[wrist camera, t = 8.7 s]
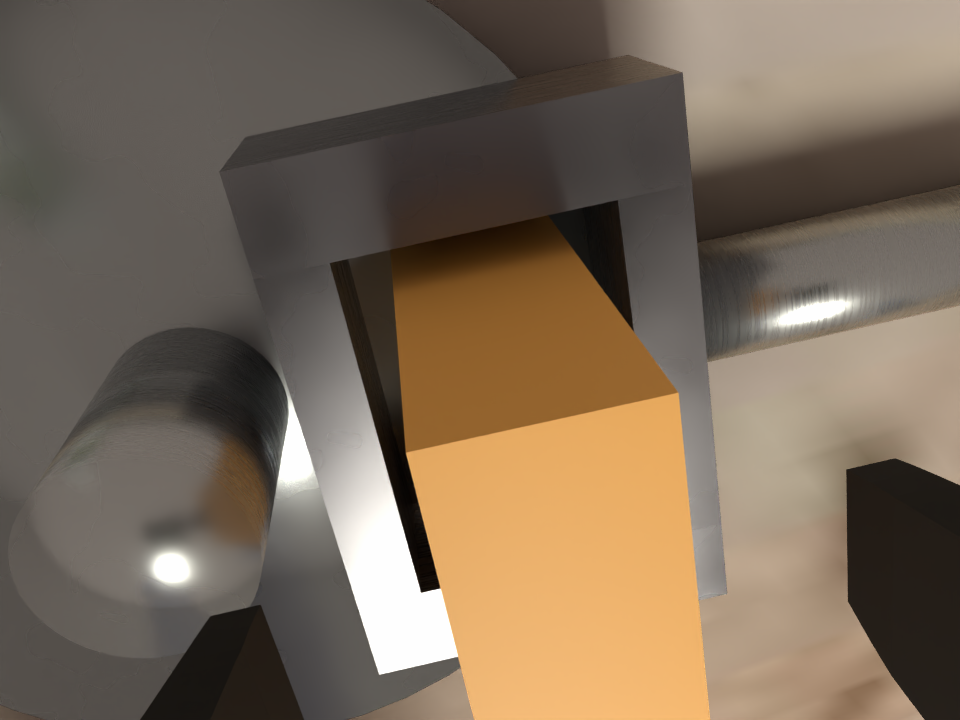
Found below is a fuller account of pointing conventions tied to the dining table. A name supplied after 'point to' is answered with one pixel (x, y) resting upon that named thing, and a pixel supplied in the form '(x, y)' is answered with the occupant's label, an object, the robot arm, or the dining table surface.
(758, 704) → the dining table surface
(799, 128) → the dining table surface
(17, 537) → the rosette joint
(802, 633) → the dining table surface
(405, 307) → the orange rectangular block
